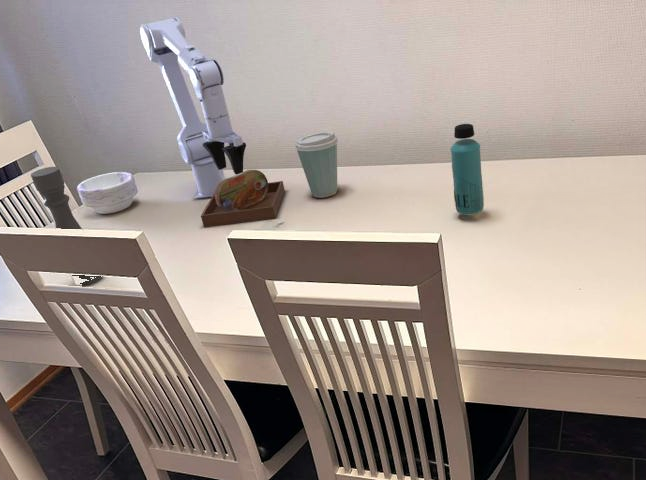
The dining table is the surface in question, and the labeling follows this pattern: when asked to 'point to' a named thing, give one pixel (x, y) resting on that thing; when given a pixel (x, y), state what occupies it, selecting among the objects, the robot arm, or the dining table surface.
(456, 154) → the beverage bottle
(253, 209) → the tray
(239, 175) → the tin
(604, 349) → the dining table surface
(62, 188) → the candle holder
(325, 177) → the disposable coffee cup
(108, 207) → the paper bowls
